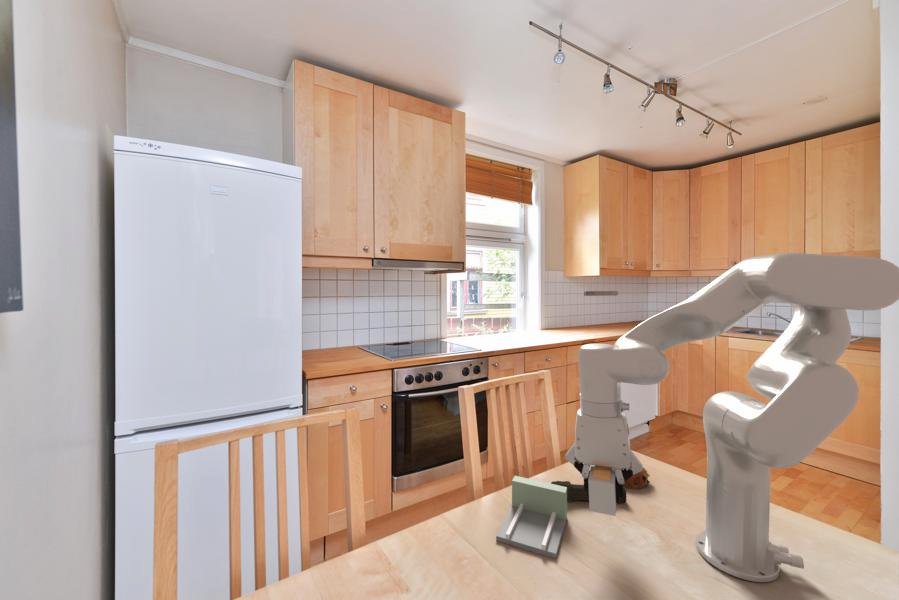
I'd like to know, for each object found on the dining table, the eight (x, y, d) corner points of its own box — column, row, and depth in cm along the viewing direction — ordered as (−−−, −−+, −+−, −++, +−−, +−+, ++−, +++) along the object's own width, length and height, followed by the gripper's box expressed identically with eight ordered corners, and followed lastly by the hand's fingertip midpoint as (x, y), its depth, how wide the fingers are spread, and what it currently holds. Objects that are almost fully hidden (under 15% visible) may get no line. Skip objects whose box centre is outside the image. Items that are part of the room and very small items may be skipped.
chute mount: (566, 517, 84) (567, 487, 83) (556, 558, 71) (556, 523, 71) (514, 504, 89) (514, 475, 89) (496, 540, 76) (496, 507, 76)
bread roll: (623, 481, 106) (612, 452, 108) (658, 479, 98) (645, 448, 101) (606, 494, 99) (594, 463, 102) (642, 493, 92) (629, 459, 95)
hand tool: (621, 496, 92) (621, 478, 92) (627, 505, 88) (627, 486, 88) (543, 494, 94) (543, 476, 94) (546, 503, 90) (546, 484, 90)
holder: (616, 488, 77) (615, 457, 77) (615, 516, 68) (614, 480, 68) (593, 484, 79) (592, 454, 79) (589, 510, 70) (588, 476, 70)
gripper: (647, 405, 73) (650, 496, 74) (559, 397, 80) (563, 480, 81) (649, 417, 66) (653, 518, 67) (553, 408, 74) (557, 499, 74)
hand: (603, 496), depth 74 cm, fingers closed on holder, 4 cm apart
